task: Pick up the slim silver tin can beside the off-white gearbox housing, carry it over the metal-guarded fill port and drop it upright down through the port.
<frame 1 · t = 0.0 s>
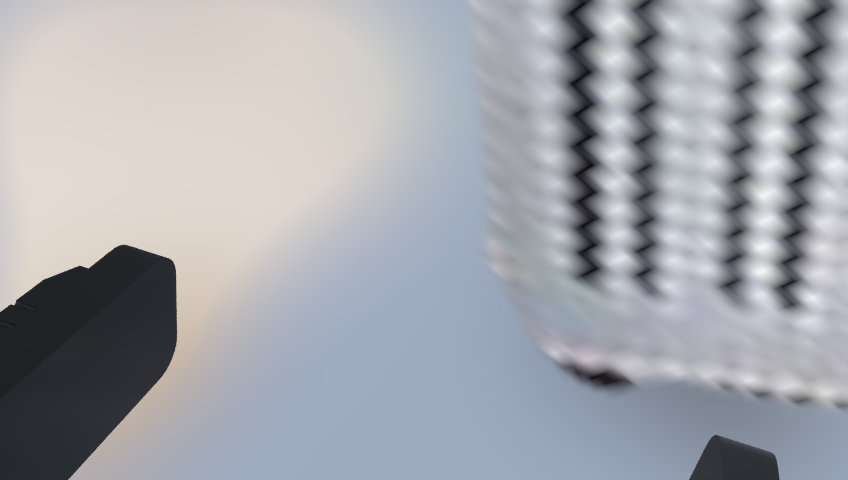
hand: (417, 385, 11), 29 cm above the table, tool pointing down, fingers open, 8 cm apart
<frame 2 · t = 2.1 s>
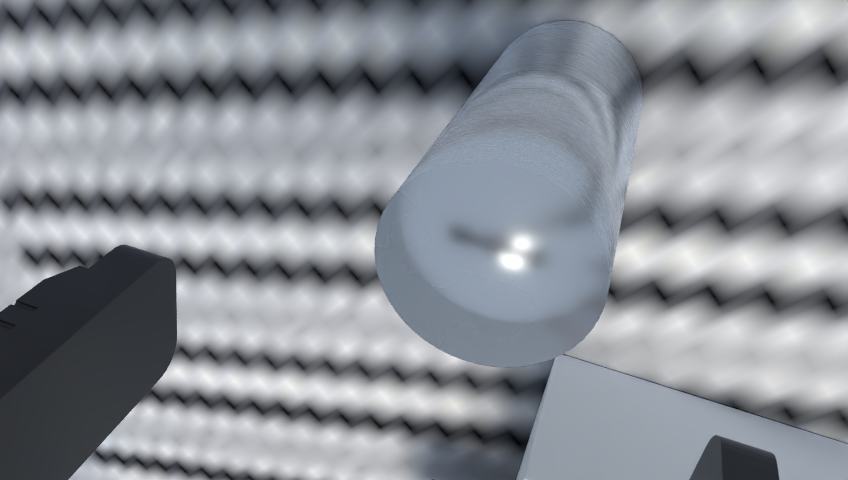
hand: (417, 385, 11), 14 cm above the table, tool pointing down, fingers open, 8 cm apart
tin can: (564, 96, 23), on the table
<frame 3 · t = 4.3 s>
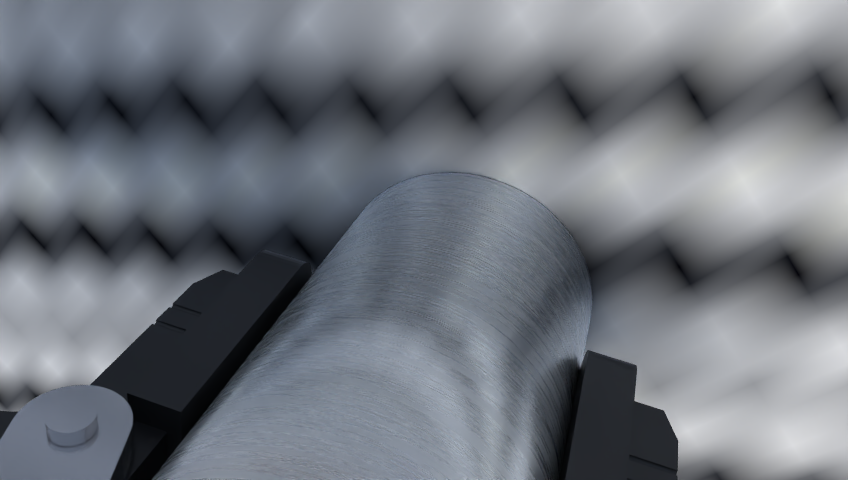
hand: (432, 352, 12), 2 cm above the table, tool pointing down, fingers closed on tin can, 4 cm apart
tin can: (463, 289, 13), on the table, touching gripper
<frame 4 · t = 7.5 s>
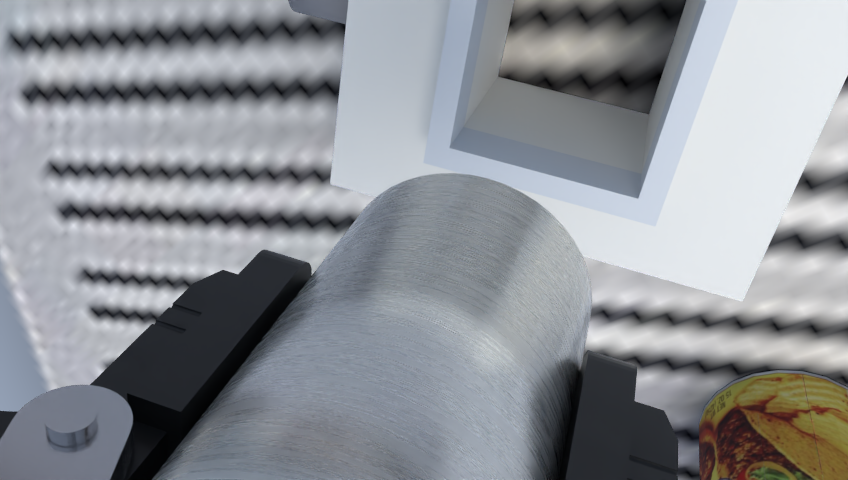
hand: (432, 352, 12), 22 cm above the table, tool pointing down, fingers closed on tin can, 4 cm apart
canned food: (784, 432, 37), on the table
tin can: (462, 289, 13), point 20 cm above the table, touching gripper
gearbox: (592, 19, 31), on the table
when the fingers open (10 cm above the table, at t = 10.8 s): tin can drops 8 cm, resting in gearbox.
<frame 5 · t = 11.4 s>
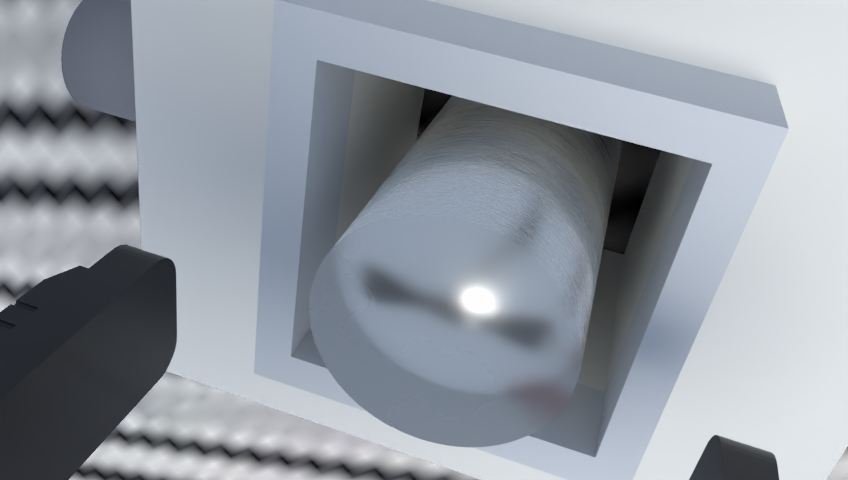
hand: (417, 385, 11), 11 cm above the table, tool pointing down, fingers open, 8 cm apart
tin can: (539, 118, 20), resting in gearbox
gearbox: (539, 120, 20), on the table
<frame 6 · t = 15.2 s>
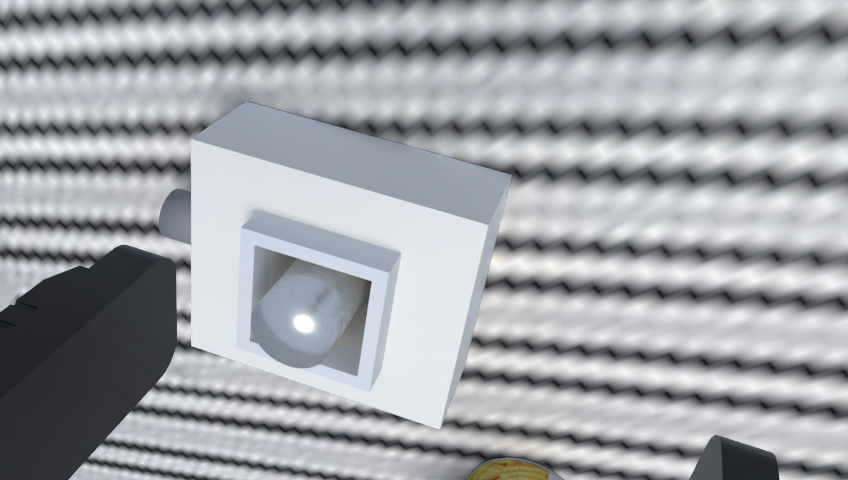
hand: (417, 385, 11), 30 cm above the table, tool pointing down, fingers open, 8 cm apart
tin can: (361, 240, 47), resting in gearbox
gearbox: (360, 240, 47), on the table
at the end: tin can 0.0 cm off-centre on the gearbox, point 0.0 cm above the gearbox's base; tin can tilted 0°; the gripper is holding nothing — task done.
